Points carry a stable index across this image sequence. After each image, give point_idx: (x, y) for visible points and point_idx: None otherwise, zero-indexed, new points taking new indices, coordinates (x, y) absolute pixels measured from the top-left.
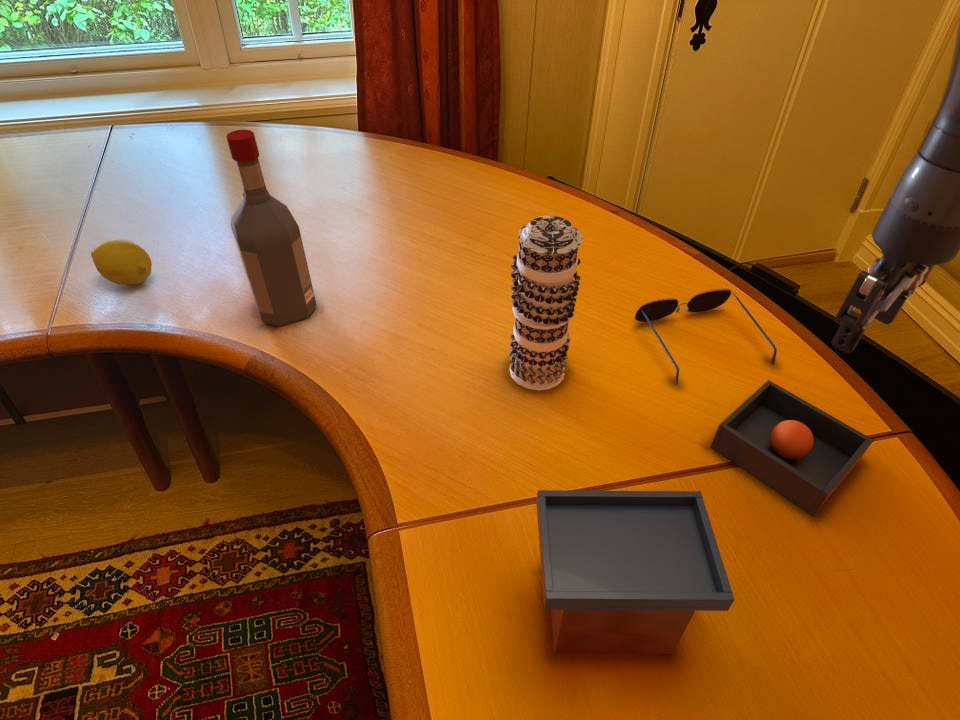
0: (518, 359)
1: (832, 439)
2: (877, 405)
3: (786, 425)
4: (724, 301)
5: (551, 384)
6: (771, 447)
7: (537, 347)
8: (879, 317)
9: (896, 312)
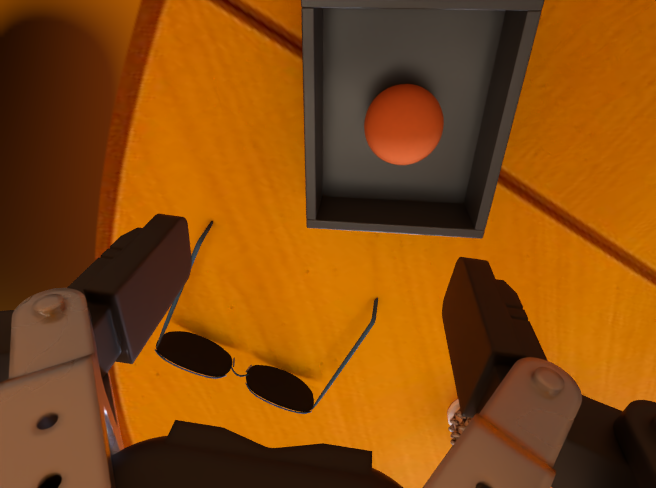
0: None
1: (320, 63)
2: (135, 35)
3: (411, 155)
4: (168, 335)
5: None
6: None
7: None
8: (184, 254)
9: (154, 248)
